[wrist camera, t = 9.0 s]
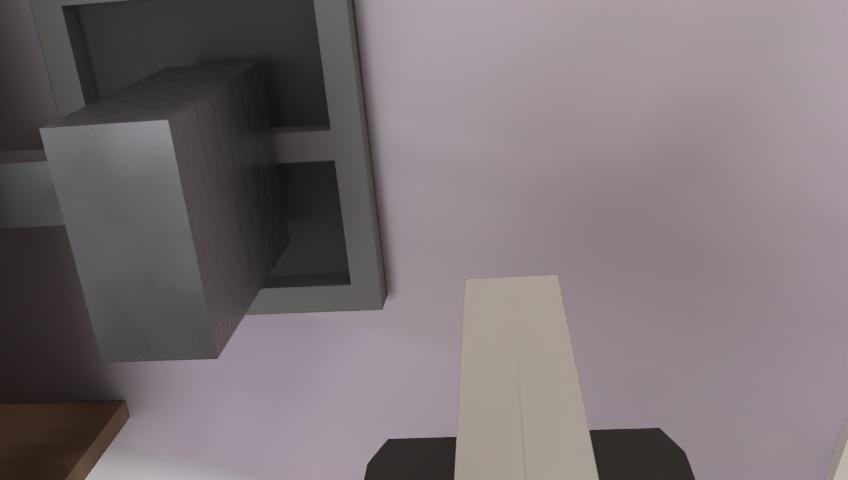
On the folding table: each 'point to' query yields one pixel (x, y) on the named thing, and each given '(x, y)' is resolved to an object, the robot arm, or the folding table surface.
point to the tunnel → (56, 438)
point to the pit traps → (288, 108)
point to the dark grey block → (161, 207)
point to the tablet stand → (839, 457)
